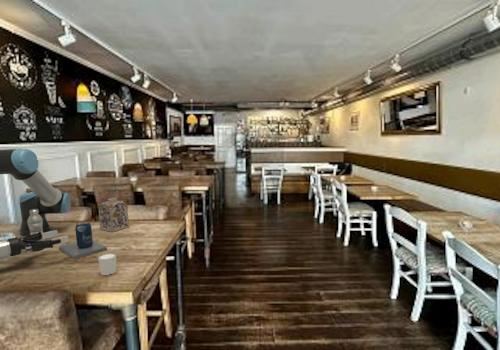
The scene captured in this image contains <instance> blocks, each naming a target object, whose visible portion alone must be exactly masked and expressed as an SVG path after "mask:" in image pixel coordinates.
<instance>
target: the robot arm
mask: <svg viewBox="0 0 500 350" xmlns="http://www.w3.org/2000/svg"><path fill="white" fill-rule="evenodd" d="M38 168H39V159H38V156H37V155H36V153H35V152H34V151H33V150H31V149H29V148H28V149H27V148H12V149H11V148H10V149H0V175H11V176H12V177H13V178H14V179H15V180H17V181H22V182H23V183H24V184H25V186H27V187H28V189H30V190H31V191H32V192H28V193H24V194H21V195H20V196H19V207H20V215H21V223H20V228H19V235H20V236H23V237H21V238H18V237H17V236H16V237H12V238H8V239H2V240H0V261H3V259H6V258H7V259H8V258H9V257H15V256H19V255H21V253H22V250H25V252H28V251H36V249H38V250H42V249H43V250H44V249H49V248H50V249H51V248H52V249H53V248H54V246H56V245H60V244H64V243H69V236H68V235H65V236H64V235H63V236H59V232H58V230H57V229H56V230H51V226H50V223H49V221H48V220H47V217H46V215H51V214H53V215H54V214H55V215H56V214H66V213H68V212H69V211H70V210H71V206H72V198H71V195H70V193H68V192H62V191H61V190H60V189H59V188H56V187H53V185H52V184H51V183H50V182H49V181H48V180H47V179H46V178H45V176H44V175H43V174H42V173H41V172H40V171H39V170H38ZM31 209H38V212H39V213H38V214H39V215H40V216H41V217H42V219H43V226H42V227H43V233H42V234H41V232H38V233H35V234H32V235H30V230H29V226H28V223H27V220H28V218H29V216H30V210H31ZM58 236H59V237H58ZM50 238H52V239H50ZM40 239H46V240H45V241H38V240H40Z"/></svg>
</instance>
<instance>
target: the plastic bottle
mask: <svg viewBox="0 0 500 350" xmlns="http://www.w3.org/2000/svg"><path fill="white" fill-rule="evenodd" d="M38 213H39V212H38V209H31V210H30V216H29V218H28V220H27V223H28V226H29V230H30V235H32V234H35V233H38V232H41V234H42V233H43V227H42V226H43V219H42V217H41V216H40V215H39V214H38ZM38 241H45V239H40V240H38ZM36 250H37V251H38V250H39V249H36ZM36 250H35V251H36Z"/></svg>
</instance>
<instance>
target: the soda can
mask: <svg viewBox="0 0 500 350" xmlns="http://www.w3.org/2000/svg"><path fill="white" fill-rule="evenodd" d="M75 239H76V242H77V246H78V247H79V248H80V249H85V248H89V247H91V246H92V244H93V241H94V239H93V232H92V224H91V223H90V221H88V220H87V221H86V220H84V221H80V222H79V221H78V222H76V225H75Z"/></svg>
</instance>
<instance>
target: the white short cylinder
mask: <svg viewBox="0 0 500 350" xmlns="http://www.w3.org/2000/svg"><path fill="white" fill-rule="evenodd" d="M97 260H98V261H97V262H98V265H99V269H100V271H99V272H100V274H102V276H103V275H109V274H112V275H114V274H113V273H115V272H116V273H117V254H116V253H104V254H101V255H99V256H98V258H97ZM116 273H115V274H116ZM109 276H110V275H109Z"/></svg>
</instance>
